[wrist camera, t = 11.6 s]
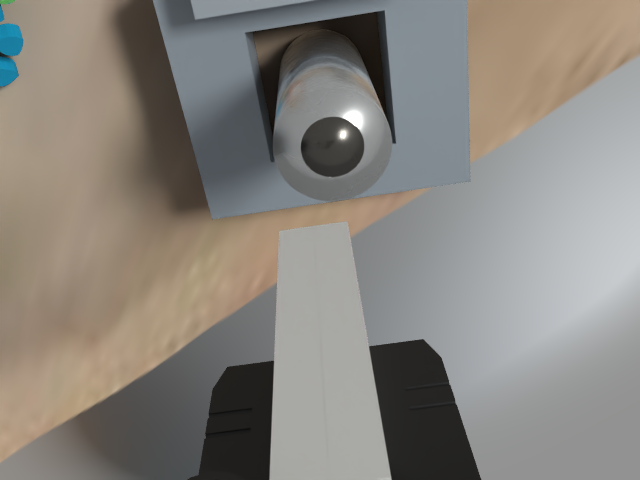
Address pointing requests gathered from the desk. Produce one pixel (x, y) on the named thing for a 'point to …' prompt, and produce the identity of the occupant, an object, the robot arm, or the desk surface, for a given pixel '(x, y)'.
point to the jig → (251, 109)
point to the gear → (9, 48)
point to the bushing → (328, 119)
